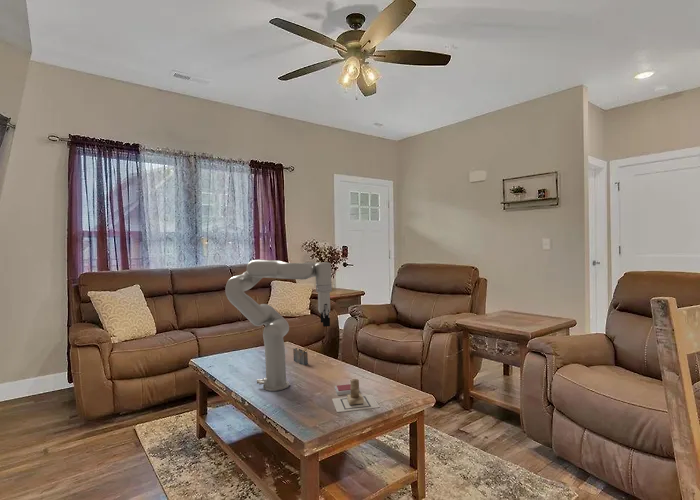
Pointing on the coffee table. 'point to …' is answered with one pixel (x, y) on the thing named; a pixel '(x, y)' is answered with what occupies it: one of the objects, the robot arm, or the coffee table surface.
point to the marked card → (344, 406)
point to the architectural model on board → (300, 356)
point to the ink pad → (343, 389)
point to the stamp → (355, 394)
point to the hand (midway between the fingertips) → (325, 324)
